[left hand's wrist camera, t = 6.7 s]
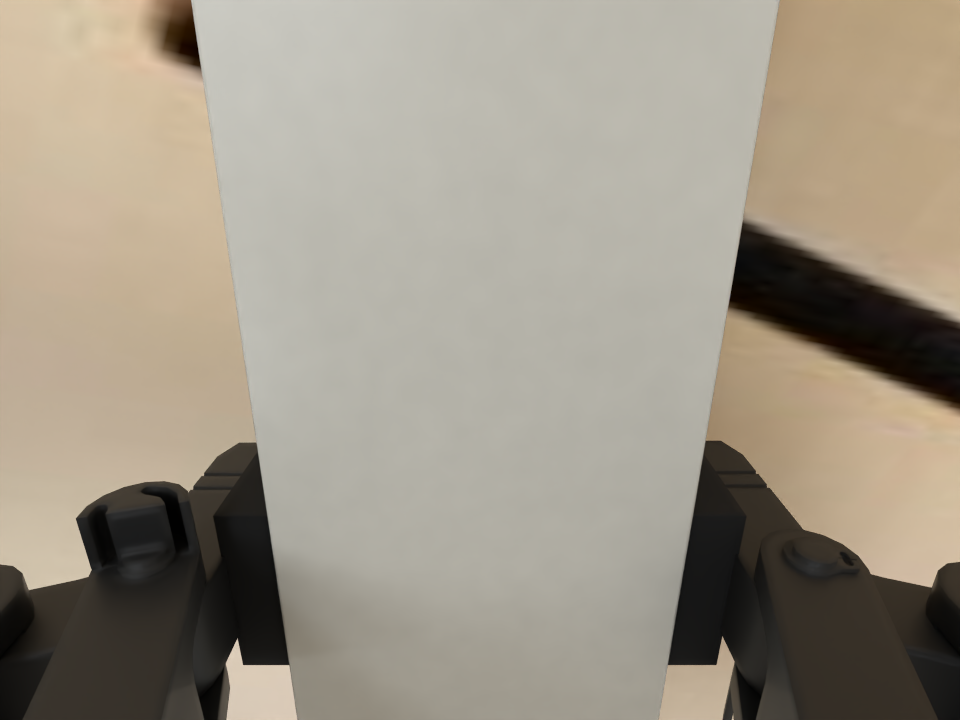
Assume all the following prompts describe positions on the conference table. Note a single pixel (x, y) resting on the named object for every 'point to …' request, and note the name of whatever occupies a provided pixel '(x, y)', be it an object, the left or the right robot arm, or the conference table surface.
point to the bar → (482, 331)
